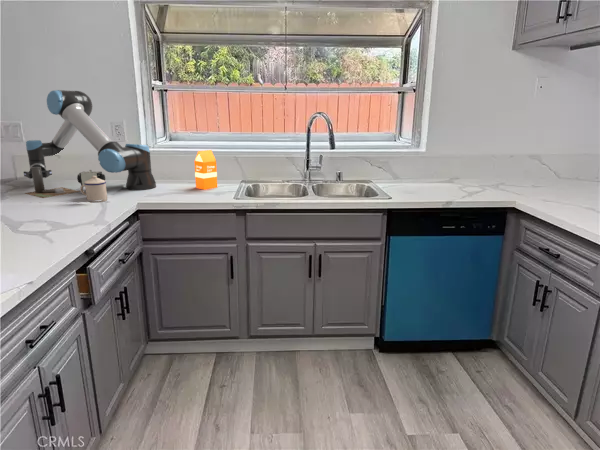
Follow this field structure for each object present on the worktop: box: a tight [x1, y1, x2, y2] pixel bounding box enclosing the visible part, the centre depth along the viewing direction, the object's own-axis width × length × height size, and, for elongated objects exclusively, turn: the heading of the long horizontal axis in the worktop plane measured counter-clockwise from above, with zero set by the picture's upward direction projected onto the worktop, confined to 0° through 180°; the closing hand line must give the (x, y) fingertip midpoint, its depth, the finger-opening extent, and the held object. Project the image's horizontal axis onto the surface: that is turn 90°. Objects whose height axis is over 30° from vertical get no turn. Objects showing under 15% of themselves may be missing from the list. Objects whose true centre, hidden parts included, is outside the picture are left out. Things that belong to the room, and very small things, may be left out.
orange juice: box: [194, 149, 218, 191], centre depth 222 cm, size 8×9×20 cm
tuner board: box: [24, 187, 81, 199], centre depth 202 cm, size 18×18×1 cm
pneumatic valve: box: [76, 169, 106, 187], centre depth 204 cm, size 6×12×12 cm, turn 94°
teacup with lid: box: [79, 176, 108, 204], centre depth 190 cm, size 12×9×12 cm
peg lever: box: [31, 167, 64, 193], centre depth 200 cm, size 13×4×12 cm, turn 96°
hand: (37, 178), depth 204 cm, fingers closed
